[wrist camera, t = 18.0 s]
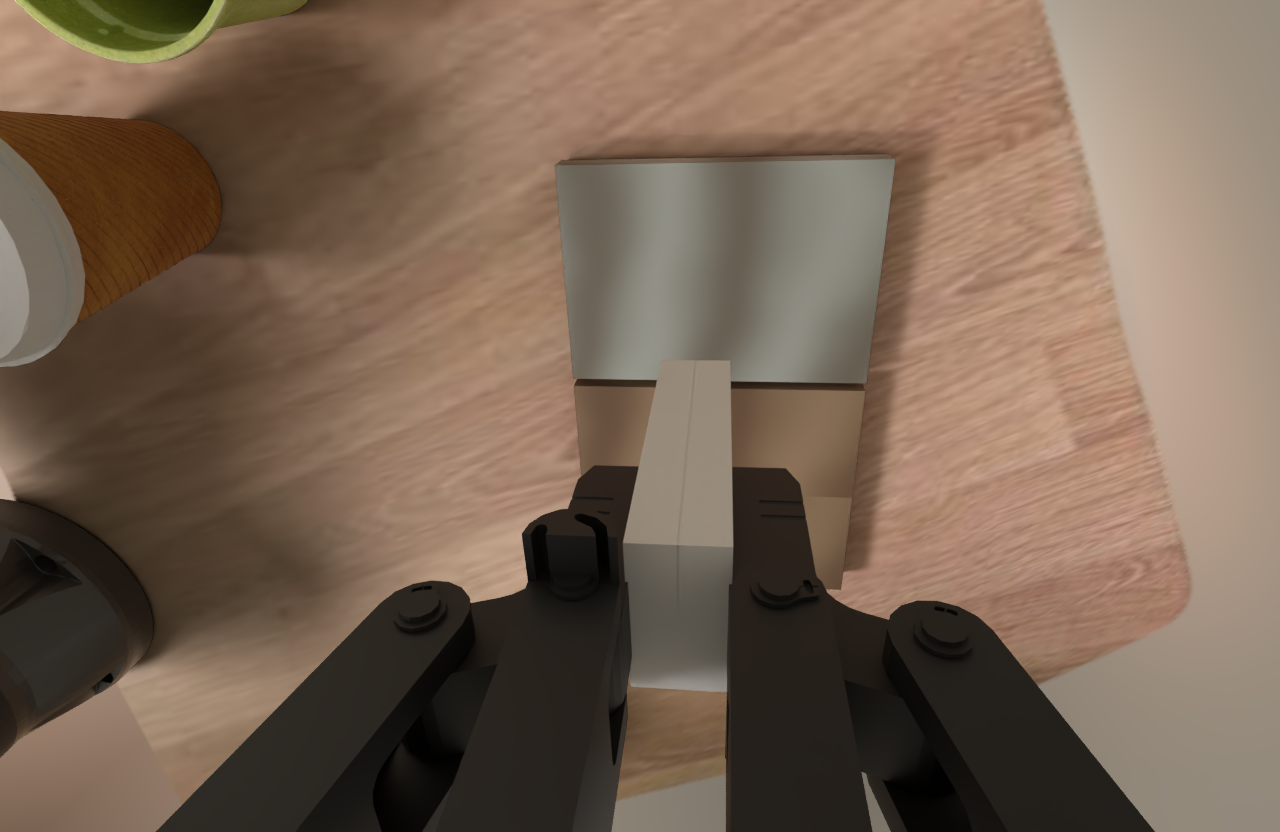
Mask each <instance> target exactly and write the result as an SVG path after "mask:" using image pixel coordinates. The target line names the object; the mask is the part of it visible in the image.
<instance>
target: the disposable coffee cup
mask: <svg viewBox="0 0 1280 832" xmlns="http://www.w3.org/2000/svg"><path fill="white" fill-rule="evenodd" d="M221 215H222V203H221V198H220V192H219V189H218V186H217V183H216V180H215V178H214V176H213V174H212V172H211V170H210V168H209V166H208V165H207V163H206V162H205V160H204V159H203V158H202V156H201V155H200V154H199V152H198V151H197V150H196V149H195V148H194V147H193V146H192V145H191V144H190V143H189V142H188V141H187V140H185V139H184V138H182V137H181V136H180V135H178V134H177V133H175V132H174V131H173V130H171V129H168V128H166V127H164V126H162V125H160V124H158V123H154V122H151V121H144V120H127V119H113V118H102V117H82V116H72V115H57V114H36V113H22V112H8V111H0V367H11V366H18V365H22V364H26V363H30V362H33V361H35V360H37V359H39V358H41V357H43V356H45V355H46V354H48V353H49V352H50V351H52V350H53V349H55V348H56V347H57V346H58V345H59V344H60V343H61V341H62V340H63V339H64V338H65V337H66V335H67V334H68V331H69V330H70V329H71V328H72V327H73V326H74V325H76V324H77V322H79V323H80V322H81V321H83V320H84V319H86V318H87V317H88V316H92V315H93V314H94V313H96V312H97V311H98V310H100V309H103V308H104V307H106V306H107V305H109V304H110V303H112V302H114V301H116V300H118V299H119V298H120V297H122V296H124V295H126V294H127V293H129V292H131V291H132V290H134V289H135V288H137V287H138V286H141V285H142V284H144V283H145V282H147V281H148V280H151V279H152V278H154V277H155V276H157V275H159V274H160V273H162V272H163V271H165V270H167V269H169V268H170V267H172V266H173V265H176V264H177V263H179V262H180V261H182V260H184V259H185V258H187V257H188V256H190V255H192V254H193V253H195V252H197V251H199V250H201V249H202V248H204V247H205V246H207V245H208V244H209V243H210V242H211V241H212V239H213V238H214V237H215V235H216V233H217V230H218V228H219V226H220V220H221Z"/></svg>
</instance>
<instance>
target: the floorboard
mask: <svg viewBox="0 0 1280 832" xmlns="http://www.w3.org/2000/svg"><path fill="white" fill-rule="evenodd" d="M656 383H657V380H625V379H577V381H576V383H575V385H574V393H575V405H576V417H577V429H578V442H579V454H580V466H581V477H582V476H583V475H584V474H585V473H586V472H587V471H588V470H589V469H591V468H592V467H593V466H594V465H605V466H639V464H640V459H641V454H642V450H643V445H644V440H645V435H646V431H647V426H648V421H649V416H650V412H651V407H652V402H653V397H654V393H655V388H656ZM864 399H865V389H864V386H863V384H862V383H807V382H746V381H731V438H732V467H759V468H786V469H787V470H788V471H789V472H790V473H791V474H792V476H793V477H794V478H795V479H796V480H797V481H798V482H799V483H800V486H801V492H802V497H803V505H804V509H805V514H806V520H807V526H808V531H809V537H810V543H811V549H812V554H813V560H814V566H815V571H816V575H817V578H818V579H820V580H821V581H822V583H823V585H824V587H825V589H837V590H841V584H842V576H843V568H844V560H845V552H846V544H847V536H848V528H849V520H850V512H851V504H852V496H853V488H854V480H855V472H856V464H857V456H858V448H859V439H860V431H861V423H862V415H863V407H864Z"/></svg>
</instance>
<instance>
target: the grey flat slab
mask: <svg viewBox="0 0 1280 832" xmlns="http://www.w3.org/2000/svg"><path fill="white" fill-rule="evenodd" d="M895 160H896V159H895V158H893V157H892V156H891V155H889V154H863V155H811V156H760V157H708V158H657V159H605V160H561V161H560V162H559V163H557V164H556V165H555V174H556V185H557V197H558V208H559V220H560V231H561V242H562V254H563V265H564V277H565V288H566V300H567V311H568V323H569V334H570V346H571V357H572V369H573V379H625V380H657V378H658V374H659V369H660V364H661V360H724V361H730V377H731V381H746V382H807V383H867V375H868V368H869V360H870V352H871V345H872V337H873V329H874V322H875V314H876V306H877V298H878V291H879V283H880V275H881V268H882V260H883V252H884V245H885V237H886V229H887V222H888V214H889V206H890V198H891V191H892V183H893V175H894V168H895Z"/></svg>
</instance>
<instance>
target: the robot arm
mask: <svg viewBox="0 0 1280 832" xmlns="http://www.w3.org/2000/svg"><path fill="white" fill-rule="evenodd" d="M522 539H523V547H524V554H525V561H526V569H527V576H528V583H527V586H526V588H525V589H523V590H521V591H519V592H517V593H515V594H512V595H508V596H505V597H501V598H496V599H491V600H486V601H480V602H475V603H470V598H469V596H468V595H467V594H466V592H465V591H464V590H463V589H462V588H461V587H459V586H457V585H454V584H452V583H450V582H442V581H427V582H422V583H416V584H412V585H410V586H407V587H405V588H403V589H400V590H398V591H396V592H394V593H393V594H392V595H390V596H389V597H388V598H386V599H385V600H384V601H382V602H381V603H380V604H379V605H378V606H377V607H376V608H375V609H374V610H373V611H372V612H371V613H370V614H369V615H368V616H367V617H366V618H365V619H364V620H363V621H362V622H361V624H360V625H359V626H358V627H357V628H356V629H355V630H354V631H353V632H352V633H351V634H350V635H349V636H348V637H347V638H346V639H345V640H344V641H343V642H342V643H341V644H340V645H339V646H338V647H337V648H336V649H335V650H334V651H333V652H332V653H331V654H330V655H329V656H328V657H327V658H326V659H325V660H324V661H323V662H322V663H321V664H320V665H319V666H318V667H317V668H316V669H315V670H314V671H313V672H312V673H311V674H310V675H309V676H308V677H307V678H306V679H305V681H304V682H303V683H302V684H301V685H300V686H299V687H298V688H297V689H296V690H295V691H294V692H293V693H292V694H291V695H290V696H289V697H288V698H287V699H286V700H285V701H284V702H283V703H282V704H281V705H280V706H279V707H278V708H277V709H276V710H275V711H274V712H273V713H272V714H271V715H270V716H269V717H268V718H267V719H266V720H265V721H264V722H263V723H262V724H261V725H260V726H259V727H258V728H257V729H256V730H255V731H254V732H253V733H252V734H251V735H250V736H249V737H248V739H247V740H246V741H245V742H244V743H243V744H242V745H241V746H240V747H239V748H238V749H237V750H236V751H235V752H234V753H233V754H232V755H231V756H230V757H229V758H228V759H227V760H226V761H225V762H224V763H223V764H222V765H221V766H220V767H219V768H218V769H217V770H216V771H215V772H214V773H213V774H212V775H211V776H210V777H209V778H208V779H207V780H206V781H205V782H204V783H203V784H202V785H201V786H200V787H199V788H198V789H197V790H196V791H195V792H194V793H193V794H192V795H191V797H190V798H189V799H188V800H187V801H186V802H185V803H184V804H183V805H182V806H181V807H180V808H179V809H178V810H177V811H176V812H175V813H174V814H173V815H172V816H171V817H170V818H169V819H168V820H167V821H166V822H165V823H164V824H163V825H162V826H161V827H160V828H159V829H158V830H157V831H156V832H611V830H612V823H613V815H614V809H615V802H616V795H617V789H618V782H619V775H620V768H621V761H622V754H623V747H624V740H625V733H626V726H627V719H628V711H627V694H626V692H627V685H628V679H629V672H630V680H631V687H646V688H663V689H679V690H696V691H712V692H727V711H726V745H725V758H726V832H872V827H871V821H870V816H869V811H868V806H867V800H866V795H865V789H864V784H863V779H862V773H861V772H864V773H866V774H867V779H868V782H869V785H870V787H871V789H872V792H873V794H874V795H875V798H876V800H877V802H878V804H879V807H880V809H881V811H882V813H883V815H884V818H885V820H886V822H887V824H888V826H889V828H890V831H891V832H1155V831H1154V830H1153V829H1152V828H1151V826H1150V825H1149V824H1148V823H1147V821H1146V820H1145V819H1144V818H1143V816H1142V815H1141V814H1140V813H1139V811H1138V810H1137V809H1136V808H1135V806H1134V805H1133V804H1132V803H1131V802H1130V800H1129V799H1128V798H1127V797H1126V795H1125V794H1124V793H1123V792H1122V790H1121V789H1120V788H1119V787H1118V785H1117V784H1116V783H1115V782H1114V780H1113V779H1112V778H1111V777H1110V775H1109V774H1108V773H1107V772H1106V770H1105V769H1104V768H1103V767H1102V765H1101V764H1100V763H1099V762H1098V761H1097V759H1096V758H1095V757H1094V755H1093V754H1092V753H1091V752H1090V751H1089V749H1088V748H1087V747H1086V746H1085V744H1084V743H1083V742H1082V741H1081V740H1080V738H1079V737H1078V736H1077V735H1076V733H1075V732H1074V731H1073V729H1072V728H1071V727H1070V726H1069V724H1068V723H1067V722H1066V721H1065V719H1064V718H1063V717H1062V716H1061V714H1060V713H1059V712H1058V711H1057V709H1056V708H1055V707H1054V706H1053V705H1052V703H1051V702H1050V701H1049V700H1048V698H1047V697H1046V696H1045V695H1044V693H1043V692H1042V691H1041V690H1040V688H1039V687H1038V686H1037V685H1036V683H1035V682H1034V681H1033V680H1032V678H1031V677H1030V676H1029V675H1028V673H1027V672H1026V671H1025V670H1024V668H1023V667H1022V666H1021V665H1020V664H1019V662H1018V661H1017V660H1016V659H1015V657H1014V656H1013V655H1012V654H1011V652H1010V651H1009V650H1008V649H1007V647H1006V646H1005V645H1004V644H1003V642H1002V641H1001V640H1000V639H999V637H998V636H997V635H996V634H995V632H994V631H993V630H992V629H991V628H990V627H989V626H988V625H986V624H985V623H984V622H983V621H982V620H981V619H980V618H979V617H977V616H976V615H974V614H972V613H970V612H968V611H966V610H964V609H962V608H960V607H958V606H954V605H951V604H947V603H943V602H939V601H915V602H911V603H908V604H905V605H901V606H900V607H899V608H898V609H897V610H895V611H894V612H893V613H892V614H891V615H890V619H889V620H887V619H884V618H880V617H876V616H873V615H869V614H866V613H863V612H860V611H857V610H854V609H852V608H849V607H847V606H845V605H844V604H842V603H840V602H838V601H836V600H835V599H834V598H833V597H832V596H830V595H829V594H828V593H827V591H826V589H825V587H824V585H823V583H822V581H821V580H820V579H818V578H817V575H816V571H815V566H814V560H813V554H812V549H811V543H810V537H809V531H808V526H807V520H806V514H805V509H804V505H803V497H802V492H801V486H800V483H799V482H798V481H797V480H796V479H795V478H794V477H793V476H792V474H791V473H790V472H789V471H788V470H787V469H786V468H759V467H732V438H731V377H730V361H724V360H661V364H660V369H659V374H658V378H657V383H656V388H655V393H654V397H653V402H652V407H651V412H650V416H649V421H648V426H647V431H646V435H645V440H644V445H643V450H642V454H641V459H640V464H639V466H605V465H594V466H593V467H592V468H591V469H589V470H588V471H587V472H586V473H585V474H584V475H583V476H582V477H581V478H579V479H578V482H577V485H576V487H575V490H574V493H573V496H572V500H571V502H570V505H569V508H568V509H561V510H557V511H554V512H551V513H547V514H544V515H542V516H541V517H539V518H537V519H536V520H534V521H533V522H531V523H530V524H529V525H528V526H527V528H526V529H525V530H524V532H523V533H522ZM152 636H153V619H152V614H151V610H150V607H149V604H148V601H147V599H146V597H145V595H144V593H143V591H142V589H141V587H140V585H139V584H138V582H137V581H136V579H135V578H134V576H133V575H132V574H131V572H130V571H129V570H128V569H127V568H126V566H125V565H124V564H123V563H122V562H121V561H120V560H119V559H118V558H117V557H116V556H115V555H114V554H113V553H112V552H111V551H110V550H109V549H108V548H107V547H106V546H104V545H103V544H102V543H101V542H99V541H98V540H97V539H96V538H94V537H93V536H92V535H90V534H89V533H87V532H86V531H84V530H83V529H81V528H80V527H78V526H76V525H75V524H73V523H71V522H69V521H68V520H66V519H64V518H62V517H60V516H58V515H56V514H53V513H51V512H49V511H46V510H44V509H41V508H38V507H35V506H32V505H29V504H25V503H21V502H16V501H11V500H4V499H0V758H1V757H2V756H3V755H4V753H6V752H7V751H8V750H9V749H10V748H11V747H12V746H13V745H14V744H15V743H16V742H17V741H19V740H20V739H21V738H23V737H24V736H26V735H28V734H29V733H31V732H33V731H34V730H36V729H38V728H40V727H42V726H43V725H45V724H47V723H48V722H50V721H52V720H54V719H56V718H57V717H59V716H61V715H62V714H64V713H66V712H68V711H69V710H71V709H73V708H75V707H76V706H78V705H80V704H82V703H83V702H85V701H87V700H88V699H90V698H91V697H93V696H94V695H96V694H99V693H101V692H103V691H104V690H106V689H107V688H109V687H111V686H112V685H113V684H115V683H116V682H118V681H119V680H120V679H121V678H122V677H123V676H124V675H125V674H126V673H127V672H128V671H129V670H130V669H131V668H132V667H133V666H134V665H135V664H136V663H137V662H138V661H139V660H140V659H141V658H142V657H143V655H144V654H145V653H146V651H147V650H148V648H149V646H150V643H151V640H152Z"/></svg>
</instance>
